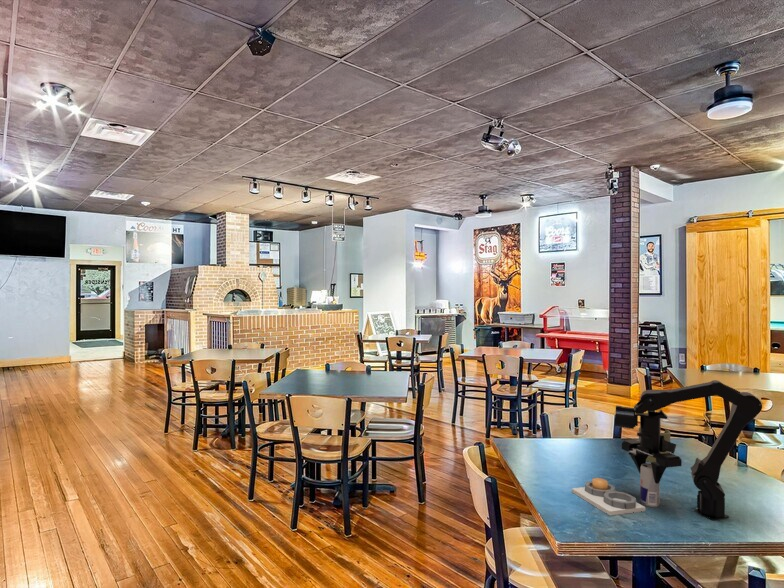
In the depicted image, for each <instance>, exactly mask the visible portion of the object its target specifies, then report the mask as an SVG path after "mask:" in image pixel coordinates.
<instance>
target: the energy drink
mask: <svg viewBox="0 0 784 588" xmlns="http://www.w3.org/2000/svg"><path fill="white" fill-rule="evenodd" d="M639 476H640V478H639V479H640V484H639V485H640V488H639V490H640V496H639V497H640V498H639V499H640V500H639V501H640V503H641V505H642V506H645V507H650V508H658V507H659V506H660V500H661V499H660V492H661V491H660V490H661V489H660V488H661V487H660V484H661V483H660V482H661V481H660V482H659V483H658V484H656V483H655V480H654V476H653V471H652V466H651V463H649V462H646V463H643V464H641V467H640V473H639Z"/></svg>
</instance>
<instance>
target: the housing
mask: <svg viewBox="0 0 784 588" xmlns="http://www.w3.org/2000/svg"><path fill="white" fill-rule="evenodd" d="M571 493H572V494H574V495H576V496H578V497H579V498H581V499H582V500H584V501H585V502H587V503H589V504H590V505H592V506H594V507H595V508H596V509H598V510H600V511H601V512H603V513H605V514H606V513H607V514H606V515H608V516H616V515H624V514H633V512H634V513H642V512H646V506H645V505H643V504H642V503H641V504H640V503H638V502H637V498H636V497H635V496H633V495H631V494H629V493H626V492H622V491H617V490H616V487H615V486H614V485H612V484H610V483H608V480H606V479H604V478H601V477H593V478H592V480H590V481H588V480H587V481H585V483H584V486H583V487H572V488H571ZM641 511H642V512H641Z"/></svg>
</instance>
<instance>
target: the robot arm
mask: <svg viewBox="0 0 784 588" xmlns="http://www.w3.org/2000/svg"><path fill="white" fill-rule="evenodd" d="M712 396H713V397H714V396H718V397H720V398H722V399H723V400H725V401H727V402H729V403H730V404H731V405H730V406H731V407H730V411H729V417H728V419H727V420H726V422H725V424H724V426H723V427H722V428H721V431H720V433H719V434H718V436H717V438H716V439H715V441H714V442H713V445H712V446H711V447H710V450H709V451H708V453H707V455H706V456H704V458H702V459H699V457H696V458H695V461H694V464H693V465H691V467H690V470H691V471H690V474H691V478H692V482H693V484H694V486H695V487H696V489H698V490H697V495H696V508H694V509H693V512H695V513H697V514H699V515H701V516H703V517H705V518H707V519H709V520H711V521H717V520H724V519H730V516H729V515H727V514H726V511H725V510H726V507H725V506H726V504H725V503H726V497H725V496H726V493H725V491H724V490H723V487H722V485H721V484H720V482H718V481H719V478H720V474H721V468H722V465H723V464H724V462H725V460H726V458H727V456H728V455H729V453H730V452H731V450H732V448H733V446H734V445H735V443H736V442H737V440H738V438H739V437H740V435H741V433H742V431H743V430H744V428H745V427H746V426H747V425H748V424H749V423H751V422H752V421H753V420H755V418H756V417H757V416H759V414H760V412H762V409H763V405H762V401H761V400H760V399H759V398H758V397H757V396H755V395H754V394H752V393H751V392H746V391H739V390H737V389H735V388H734V387H731V386H729V385H726V384H724V383H723V382H722V381H720V380H717V379H714V380H711V381H708V382H702V383H696V384H693V385H687V386H683V387H678V388H671V389H646V390H643V392H642V393H641V394H640V395H639V401H638V402H637V403H636V404H635V405H634V406H633V407H629V406H622V405H615V414H614V428H615V427H617V428H624V429H634V428H636V427H638V424H639V427H640V432H639V431H638V432H636V436H637V437H639V436H640V442H639V440H636V439H628V440H623V442H622V443H621V450H623V451H625V452H628V455H629V456H630V458H631V459H632V461H633V463H634V464H635V467H636V469H637V471H638V473H639V474H640V467H641V464H643V463H647V462H646V459H647V457H648V456H651V457H654V458H656V462H651V463H650V464H651V466H652V471H653V476H654V480H655V483H656V484H658V483H659V482H661V480H662V478H663V476H664V474H665V471H666V469H667V468H678V467H682V463H683V461H682V458H681V457H680V456H679V455H676V454H675V452H676V448H677V444H676V443H674V442H671V441H670V442H668V441H666V440H664V435H661V434H662V433H661V419H663V420H668V415H667V414H666V413H665V412H664V411H663V410H662V409H663V408H667V407H668V406H670V405H673V404H676V403H681V402H685V401H691V400H696V399H702V398H708V397H712ZM638 418H639V419H638ZM638 421H639V422H638ZM666 451H669V452H670V453H665V454H661V453H660V452H666Z"/></svg>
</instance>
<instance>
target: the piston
mask: <svg viewBox="0 0 784 588" xmlns="http://www.w3.org/2000/svg"><path fill="white" fill-rule="evenodd" d="M638 432H640V426H639V427H638ZM660 434H661V435H664V440H666V441H668V442H671V431H670V430H669V429H664V432H663V433H660ZM638 441H639V442H640V436H638ZM660 453H661V454H665V453H671V452H669V451H666V452H660ZM651 462H656V458H654V457H651V456H648V457H647V459H646V463H649V464H651Z"/></svg>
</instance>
